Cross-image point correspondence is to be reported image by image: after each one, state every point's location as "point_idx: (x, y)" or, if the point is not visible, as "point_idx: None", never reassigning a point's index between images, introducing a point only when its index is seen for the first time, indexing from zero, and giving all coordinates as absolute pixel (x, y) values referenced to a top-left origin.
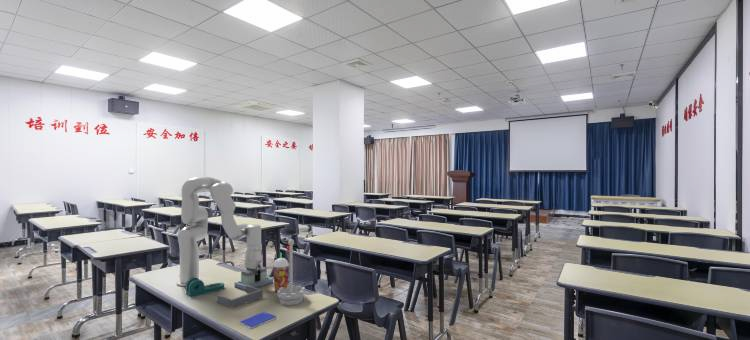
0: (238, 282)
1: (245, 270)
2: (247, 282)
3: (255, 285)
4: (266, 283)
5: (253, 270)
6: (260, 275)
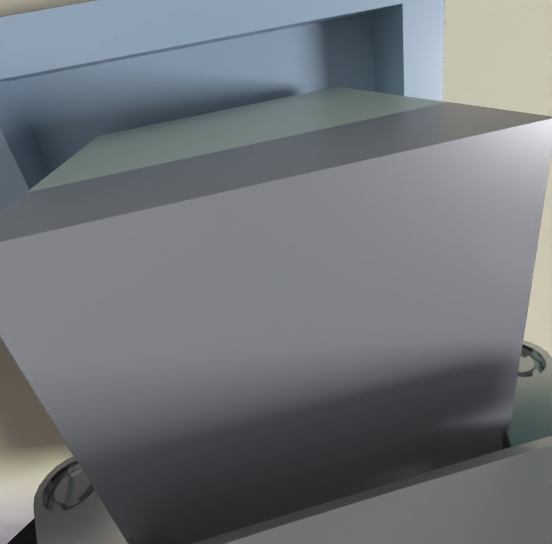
0: (399, 42)
1: (460, 302)
2: (91, 147)
3: None
4: None
5: (233, 508)
6: None
